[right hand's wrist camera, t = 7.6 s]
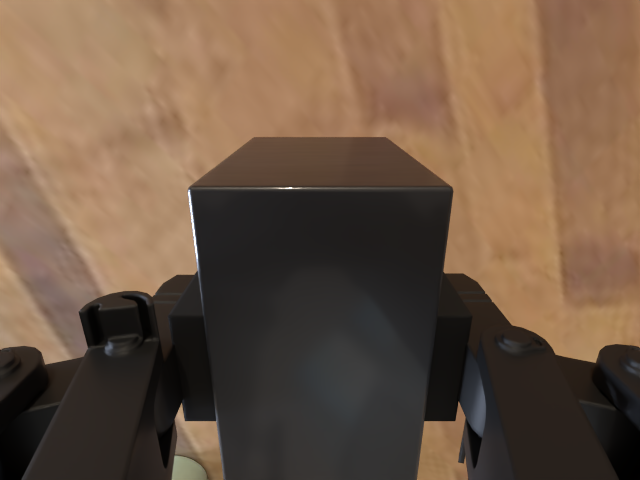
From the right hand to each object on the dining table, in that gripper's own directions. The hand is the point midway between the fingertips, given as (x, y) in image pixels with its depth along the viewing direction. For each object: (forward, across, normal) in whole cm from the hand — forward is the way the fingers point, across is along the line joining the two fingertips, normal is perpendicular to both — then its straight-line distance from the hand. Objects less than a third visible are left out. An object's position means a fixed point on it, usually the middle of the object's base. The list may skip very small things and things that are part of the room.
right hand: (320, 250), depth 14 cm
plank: (0, 0, -9) cm, 9 cm away
